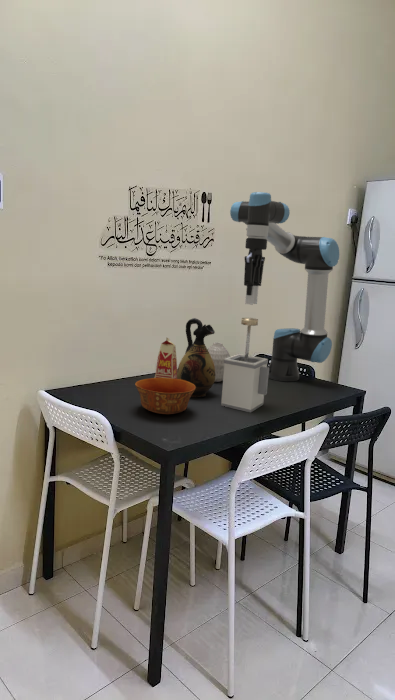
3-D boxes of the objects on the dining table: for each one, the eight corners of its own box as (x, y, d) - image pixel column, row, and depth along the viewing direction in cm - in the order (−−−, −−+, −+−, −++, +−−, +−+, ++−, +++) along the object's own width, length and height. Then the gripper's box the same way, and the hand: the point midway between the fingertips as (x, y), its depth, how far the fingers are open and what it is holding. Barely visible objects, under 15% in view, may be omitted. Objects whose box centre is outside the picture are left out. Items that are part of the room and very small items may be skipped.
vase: (213, 385, 221) (216, 346, 217) (195, 378, 230) (197, 341, 227) (235, 381, 229) (238, 344, 225) (216, 374, 238) (219, 339, 235)
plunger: (238, 371, 199) (243, 316, 195) (261, 375, 195) (266, 319, 191) (228, 375, 191) (232, 318, 187) (251, 380, 187) (256, 321, 183)
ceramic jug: (221, 393, 209) (226, 320, 203) (201, 402, 196) (207, 324, 190) (185, 385, 217) (189, 314, 211) (164, 393, 204) (168, 318, 198)
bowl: (150, 398, 196) (151, 373, 194) (202, 408, 189) (204, 382, 187) (123, 414, 177) (124, 386, 175) (180, 425, 170) (181, 396, 168)
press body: (234, 398, 204) (238, 353, 200) (270, 406, 197) (275, 360, 193) (220, 405, 193) (224, 358, 189) (258, 414, 186) (262, 365, 182)
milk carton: (174, 386, 215) (176, 339, 211) (152, 384, 216) (154, 337, 212) (178, 381, 223) (181, 335, 219) (157, 378, 225) (159, 333, 221)
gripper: (255, 238, 192) (250, 301, 196) (237, 236, 178) (232, 304, 183) (274, 239, 188) (268, 303, 193) (257, 237, 174) (251, 306, 179)
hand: (251, 303), depth 188 cm, fingers open, 3 cm apart
